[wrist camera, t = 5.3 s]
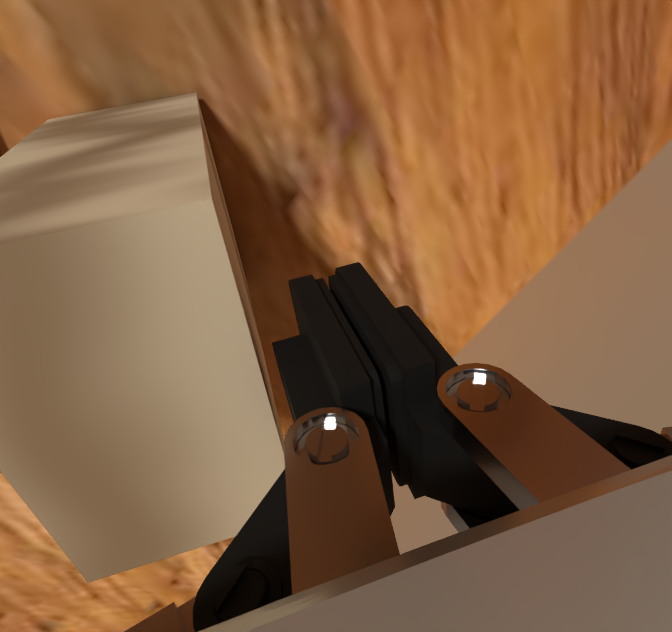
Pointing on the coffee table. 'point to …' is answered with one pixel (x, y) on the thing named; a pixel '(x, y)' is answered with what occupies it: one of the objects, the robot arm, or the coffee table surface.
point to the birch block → (129, 340)
